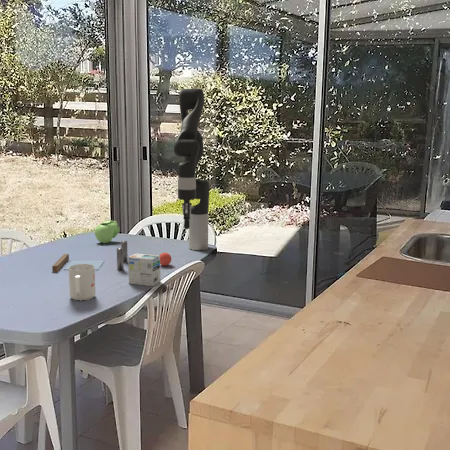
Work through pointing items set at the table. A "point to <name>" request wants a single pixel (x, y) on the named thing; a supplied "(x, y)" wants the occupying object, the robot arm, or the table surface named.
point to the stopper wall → (60, 263)
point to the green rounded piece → (106, 231)
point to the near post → (120, 259)
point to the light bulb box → (144, 269)
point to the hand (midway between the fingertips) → (186, 228)
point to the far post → (124, 251)
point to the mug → (82, 281)
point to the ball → (165, 259)
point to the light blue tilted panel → (95, 263)
